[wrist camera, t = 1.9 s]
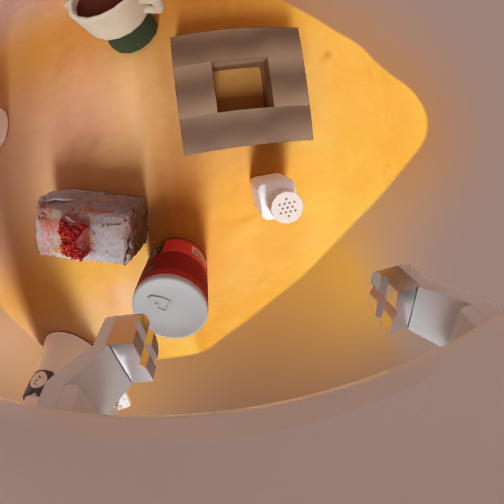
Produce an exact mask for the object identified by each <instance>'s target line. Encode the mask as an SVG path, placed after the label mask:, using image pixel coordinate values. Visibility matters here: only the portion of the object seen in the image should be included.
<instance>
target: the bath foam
mask: <svg viewBox="0 0 504 504" xmlns="http://www.w3.org/2000/svg"><path fill="white" fill-rule="evenodd" d="M7 130H8V118H7V114H6V112H5V111H4V110H3V109H1V108H0V146H1V145H2V144H3V142H4V140H5V137H6V134H7Z"/></svg>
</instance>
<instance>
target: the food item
mask: <svg viewBox="0 0 504 504" xmlns="http://www.w3.org/2000/svg"><path fill="white" fill-rule="evenodd" d="M35 229H36V239H37V244H38V250H39V254H40V255H44V256H47V255H49V256H54V257H61V258H67V259H74V260H77V261H82V260H91V261H98V262H99V261H100V262H109V263H116V264H117V263H118V264H123V265H125V266H126V264H127V263H128V262H129V261H131V260H132V258H133V257H134V256H135V255H136V254H137V252H138V251H139V250H140V249H141V248H142V246H143V244H145V243H146V241H147V232H148V222H147V202H146V198H145V197H141V198H139V197H135V196H123V195H110V194H109V193H108V192H105V191H99V192H94V191H86V190H78V189H68V190H58V191H52V192H50V193H48V194H47V195H45V196H41V197H40V199H39V201H38V202H37V212H36V216H35Z"/></svg>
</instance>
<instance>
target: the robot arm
mask: <svg viewBox="0 0 504 504" xmlns="http://www.w3.org/2000/svg"><path fill="white" fill-rule="evenodd" d="M371 283H372V285H373V288H372V290H371V291H370V293H369V303H370V308H371V310H372V312H373V313H374V315H375V316H377V317H380V318H382V319H381V324H382V325H383V326H384V328H385V329H386V330H387V332H388V333H389V334H391V333H394V332H397V331H401V330H404V329H406V328H408V329H409V330H411V331H413V332H414V333H416V334H418V335H420V336H422V337H424V338H426V339H427V340H429V341H431V342H433V343H435V344H437V345H439V346H440V347H439V348H437V349H435V350H433V351H431V352H429V353H426V354H424V355H422V356H420V357H418V358H415V359H413V360H411V361H409V362H406V363H404V364H401V365H399V366H397V367H394V368H391V369H389V370H386V371H384V372H381V373H378V374H376V375H373V376H370V377H367V378H364V379H361V380H358V381H355V382H352V383H349V384H346V385H343V386H339V387H336V388H333V389H329V390H325V391H322V392H318V393H314V394H311V395H307V396H302V397H298V398H294V399H290V400H285V401H280V402H275V403H271V404H265V405H259V406H253V407H247V408H241V409H234V410H226V411H218V412H209V413H198V414H183V415H160V416H130V415H129V416H128V415H116V414H117V411H118V410H120V409H124V408H127V407H129V406H130V404H131V400H130V398H129V395H128V393H127V389H128V388H129V387H130V386H131V384H132V382H147V381H154V375H155V369H156V366H155V364H154V361H155V360H156V359H157V358H158V352H159V351H158V342H157V338H156V336H155V334H154V332H153V331H151V330H150V329H148V328H149V324H150V322H149V320H148V318H147V316H146V315H145V314H144V313H143V314H134V315H123V316H113V317H107V318H105V320H104V322H103V324H102V326H101V329H100V331H99V333H98V335H97V337H96V340H95V342H94V344H93V346H92V345H90V344H89V343H88V342H86V341H85V340H83V339H81V338H79V337H77V336H75V335H72V334H69V333H65V332H53V333H51V334H49V335H48V336H47V337H46V338H45V340H44V345H43V350H42V354H41V357H40V361H39V364H38V367H37V370H36V372H35V374H34V375H33V377H32V378H31V380H30V381H29V384H28V386H27V388H26V390H25V393H24V395H23V400H24V401H23V403H22V402H18V401H13V400H10V399H6V398H2V397H0V504H504V310H503V311H500V310H499V309H497V308H496V307H495V306H494V305H493V304H492V303H491V302H489V301H488V300H487V299H486V298H485V297H484V296H480V295H477V294H474V293H471V292H467V291H464V290H461V289H458V288H454V287H451V286H447V285H444V284H440V283H437V282H430V281H429V280H428V279H427V278H425V277H424V276H423V275H422V274H421V273H420V272H418V271H417V270H416V269H415V268H413V267H412V266H411V265H410V264H408V263H404V264H400V265H397V266H394V267H391V268H387V269H383V270H379V271H376V272H373V274H372V276H371Z"/></svg>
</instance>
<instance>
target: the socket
mask: <svg viewBox="0 0 504 504" xmlns="http://www.w3.org/2000/svg"><path fill="white" fill-rule="evenodd" d="M170 39H171V50H172V60H173V70H174V79H175V88H176V96H177V104H178V112H179V119H180V126H181V133H182V140H183V147H184V153H185V155H191V154H196V153H202V152H208V151H214V150H220V149H227V148H234V147H241V146H249V145H258V144H267V143H277V142H289V141H302V140H313V131H312V121H311V112H310V104H309V96H308V88H307V81H306V74H305V67H304V61H303V54H302V48H301V43H300V37H299V31H298V28H289V27H254V28H235V29H223V30H214V31H206V32H198V33H192V34H186V35H180V36H175V37H170ZM251 67H260V70H261V77H262V84H263V92H264V99H265V107H266V108H254V109H244V110H235V111H227V112H220V113H218V111H217V103H216V95H215V88H214V80H213V72H212V71H219V70H228V69H238V68H251Z"/></svg>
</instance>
